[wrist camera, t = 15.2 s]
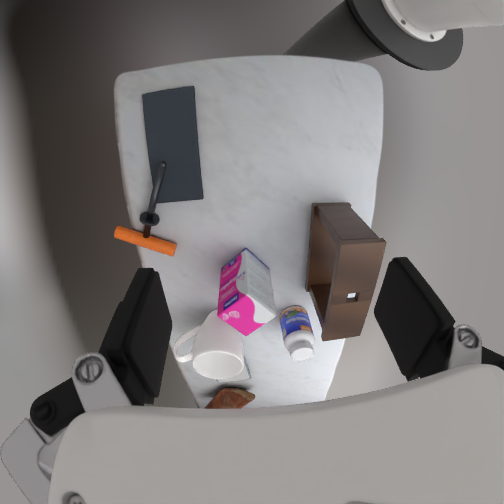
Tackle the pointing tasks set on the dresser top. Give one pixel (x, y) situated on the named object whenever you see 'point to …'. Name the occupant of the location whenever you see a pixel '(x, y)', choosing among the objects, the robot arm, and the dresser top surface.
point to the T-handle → (149, 223)
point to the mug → (214, 348)
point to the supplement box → (246, 293)
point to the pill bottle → (297, 333)
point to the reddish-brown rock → (230, 399)
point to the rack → (341, 268)
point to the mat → (173, 143)
